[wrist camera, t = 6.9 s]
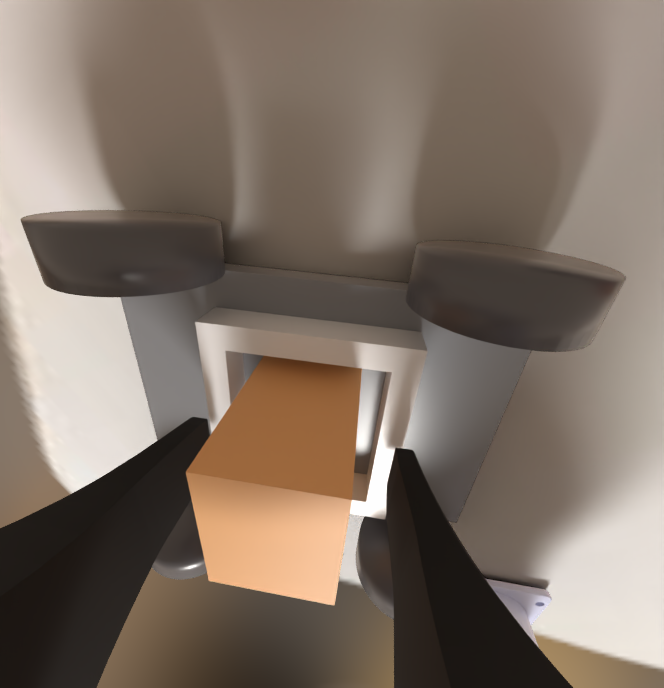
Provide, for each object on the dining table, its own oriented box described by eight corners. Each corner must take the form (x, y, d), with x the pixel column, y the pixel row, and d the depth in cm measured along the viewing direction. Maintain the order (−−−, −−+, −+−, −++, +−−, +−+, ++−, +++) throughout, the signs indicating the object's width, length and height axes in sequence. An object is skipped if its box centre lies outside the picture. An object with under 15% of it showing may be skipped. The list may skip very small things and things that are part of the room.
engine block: (349, 453, 15) (334, 605, 9) (268, 441, 15) (209, 580, 10) (362, 365, 12) (351, 499, 7) (265, 352, 13) (185, 472, 7)
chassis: (444, 523, 17) (467, 637, 13) (181, 479, 19) (121, 568, 14) (556, 249, 10) (690, 294, 6) (118, 207, 12) (-40, 218, 7)
